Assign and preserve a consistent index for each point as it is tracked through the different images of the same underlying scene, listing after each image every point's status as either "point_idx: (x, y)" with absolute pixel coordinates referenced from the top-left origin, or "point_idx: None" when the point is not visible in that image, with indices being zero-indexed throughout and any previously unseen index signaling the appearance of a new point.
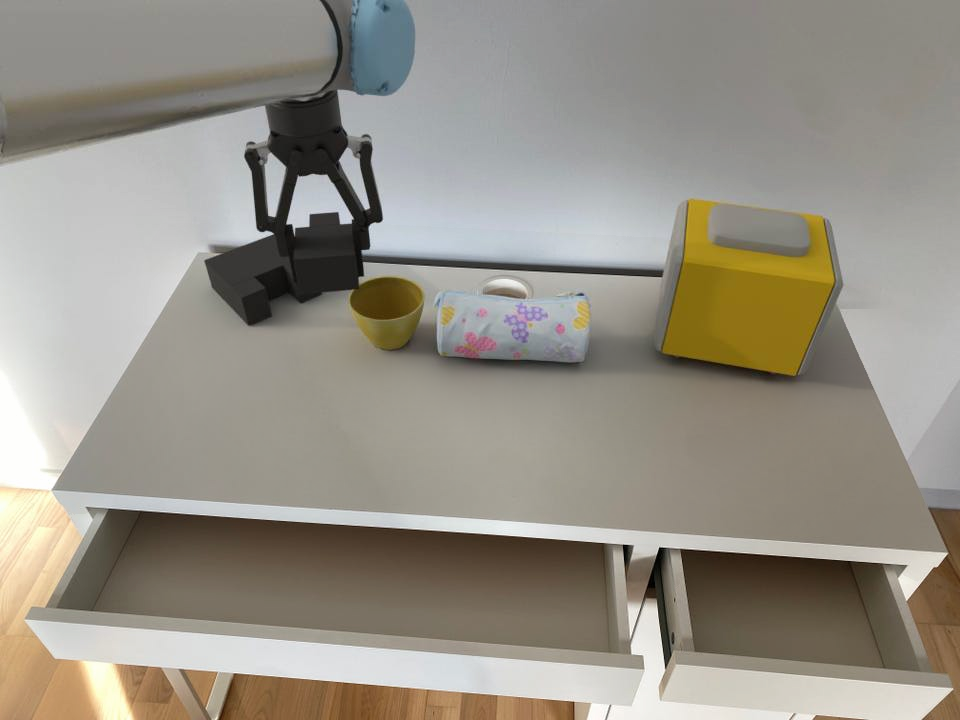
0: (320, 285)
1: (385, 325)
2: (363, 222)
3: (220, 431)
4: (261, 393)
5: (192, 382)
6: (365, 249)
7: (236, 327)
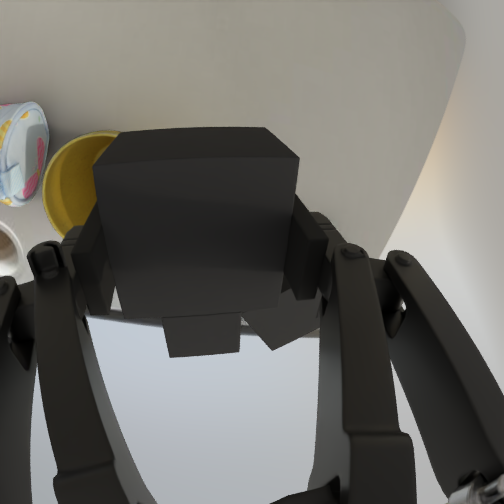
0: (215, 131)
1: (103, 131)
2: (44, 277)
3: (355, 29)
4: (306, 78)
5: (381, 122)
6: (83, 225)
7: (327, 212)
